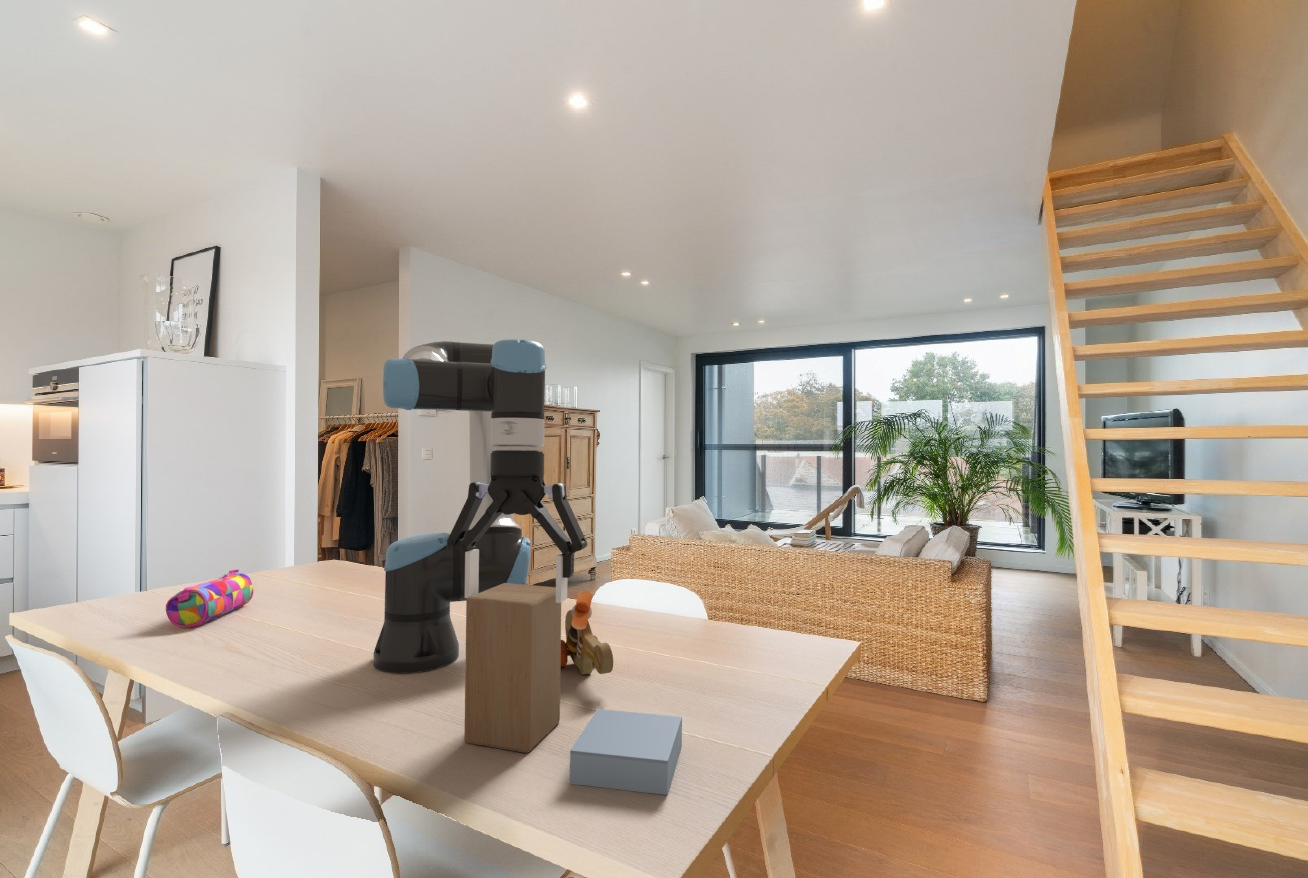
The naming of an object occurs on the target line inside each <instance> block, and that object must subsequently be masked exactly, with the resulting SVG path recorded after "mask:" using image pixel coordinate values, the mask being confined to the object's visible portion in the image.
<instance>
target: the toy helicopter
mask: <svg viewBox="0 0 1308 878" xmlns="http://www.w3.org/2000/svg"><path fill="white" fill-rule="evenodd" d="M592 601H593V593H592V592H591V591H589V590H580V591H579V592H577V598H576V603H575V604H574V606H573V607H572V608H571V609H569V610H568V611H567V612H566V614H565V621H564V624H565V627H564V629H565V640H566V641H565V640H564V639H561V667H560V668H564V667H566V666H567V664H568V660H569V659H568V657H570V658H571V660H572V662H573V664H574V665H575V666H576V667H577V668H578V670H579V674H581V675H589V674H592V672H593V665H594V667H595V669H596V672H597V673H598V674H600V675H604V674H610V673H611V672H612V671H613V670H614V655H613V651H612V648H611V646H610V645H609V643H607V642H601V641H600V640H599V638H598V637H597V636H596V635H595V634H593V632H592V631H593V630H592V628H591V625H590V622H589V619H590V618H591V617H592V613H593V610H592V606H591V604H592Z"/></svg>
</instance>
